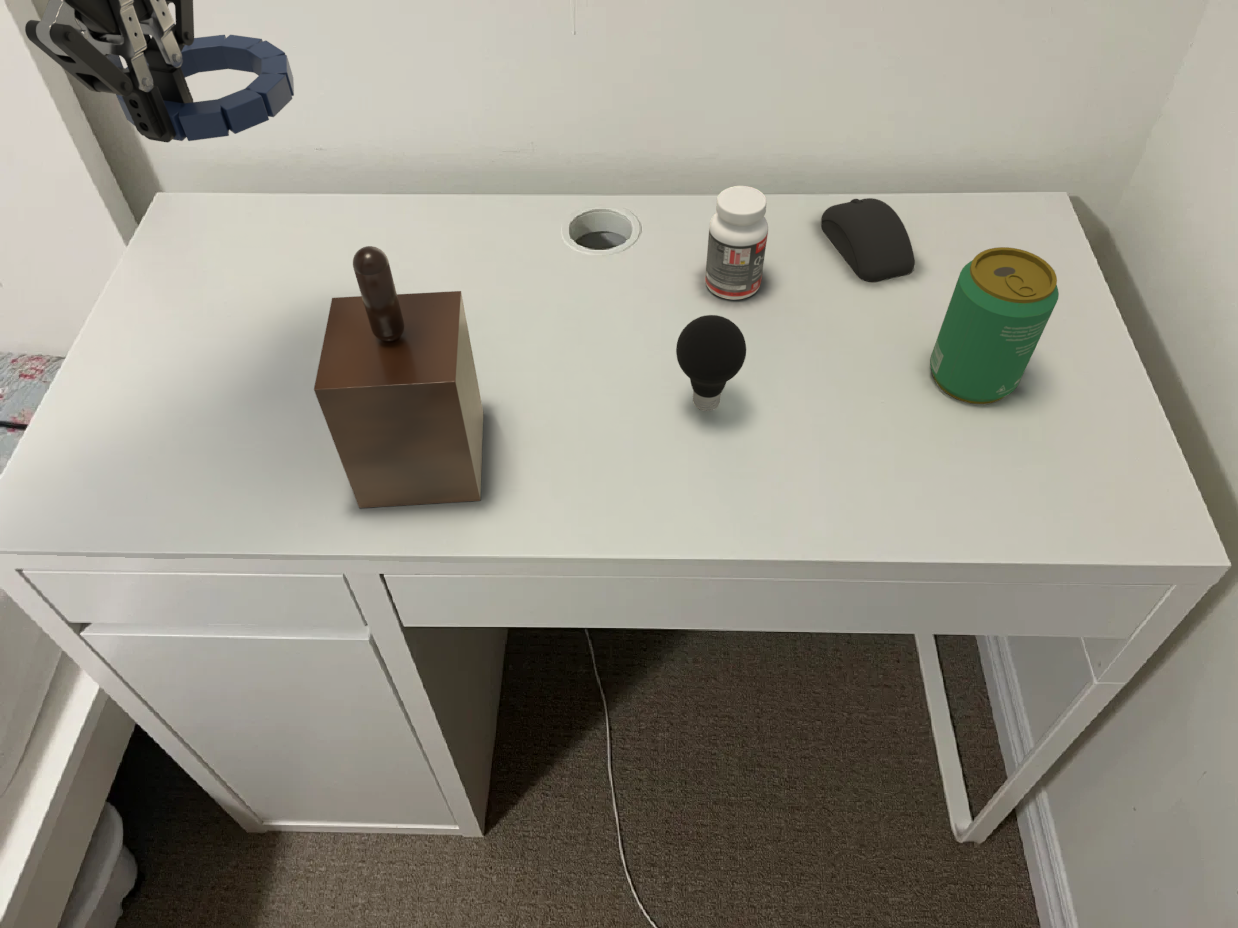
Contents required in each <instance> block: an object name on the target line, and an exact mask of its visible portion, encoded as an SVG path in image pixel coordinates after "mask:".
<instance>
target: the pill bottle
mask: <svg viewBox="0 0 1238 928" xmlns="http://www.w3.org/2000/svg"><path fill="white" fill-rule="evenodd" d="M767 202H768V201H767V197H766V196H765V194H764V193H763V192H762V191H760V190H759V189H757V188H755V187H751V186H747V185H735V186H730V187H727V188H724V189H723V190H722V191H721V192H719V194H718V195H717V198H716V205H715V211H716V212H715V213H714V214H713V215H712V217H711V218H710V221H709V226H708V239H707V251H706V263H705V275H704V277H705V278H704V281H705V284H706V287H707V288H708V290H709V291H710V292H711V293H712V294H714V295H715V296H717V297H720V298H722V299H726V300H742V299H746V298H749V297H751V296H753V295H755V293H756V292H757V291H758V290H759V289H760V287H761V284H762V279H763V271H764V264H765V257H766V256H765V255H766V250H767V241H768V236H769V224H768V223H769V222H768V220H767V218H766V213H767V204H768V203H767Z"/></svg>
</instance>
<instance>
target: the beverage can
mask: <svg viewBox="0 0 1238 928" xmlns="http://www.w3.org/2000/svg"><path fill="white" fill-rule="evenodd" d="M1057 283H1058V278H1057V273H1056V271H1055V269H1054V268H1053V267H1052V265H1050V264H1049V262H1047V261H1046V260H1045V259H1044V258H1041V257H1040V256H1038V255H1037V254H1034V253H1032V252H1030V251H1027V250H1024V249H1021V248H1015V247H1008V246H1007V247H1006V246H1005V247H1004V246H998V247H992V248H987V249H985V250H983V251H980V252H979V253H977V254H976V255H975V256H974V257H973V259H972V260H970V261H969V262H968V263H966V264H965V265H964V266H963V267H962V269H961V270H960V272H959V275H958V278H957V281H956V284H955V287H954V290H953V292H952V295H951V297H950V301H949V303H948V306H947V309H946V312H945V315H944V318H943V321H942V323H941V326H940V329H939V332H938V335H937V338H936V341H935V344H934V347H933V349H932V352H931V354H930V359H929V366H930V369H931V370H930V371H931V374H932V378H933V380H934V382H935V383H936V385H937V386H938V387H939V388H940V389H941V390H942V391H943V392H944V393H945V394H946V395H948V396H950V397H951V398H954V399H956V400H957V401H961V402H965V403H967V404H975V405H988V404H994V403H996V402H999V401H1001V400H1002V399H1004V398H1005V397H1007V396H1008V395H1010V394H1011V393H1013V392H1014V391H1015V390H1016V389H1017V387H1018V386H1019V384H1020V382H1021V379H1022V378H1023V375H1024V373H1025V371H1026V370H1027V366H1028V365H1029V362H1030V360H1031V359H1032V356H1033V354H1034V352H1035V350H1036V348H1037V345H1038V343H1039V341H1040V339H1041V337H1042V335H1043V333H1044V331H1045V328H1046V327H1047V324H1048V322H1049V320H1050V318H1051V316H1052V314H1053V312H1054V310H1055V307H1056V305H1057V303H1058V301H1059V295H1060V294H1059V288H1058V284H1057Z"/></svg>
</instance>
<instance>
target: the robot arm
mask: <svg viewBox="0 0 1238 928" xmlns="http://www.w3.org/2000/svg"><path fill="white" fill-rule="evenodd" d="M170 4H173V5H174V15H175V20H174V18H173V16H172V13H171V11H170V9H169V5H170ZM194 14H195V13H194V0H48V2H47V4H46V7H45V10H44V12H43V15H42V18H41V20H37V19H30V20H28V21H27V22H26V23H25V26H24V32H25V35H26V37H27V39H28V40H29V41H30V42H31V43H32V44H34V45H35V46H36V47H37V48H39V49H40V50H41V52H43V53H45V54H46V55H47V56H48V57H50V58H51V59H52V60H53V61H54V62H55V63H56V64H58V65H59V66H60V67H61V68H63V70H65V71H66V72H67V73H68V74H70V75H71V76H72V77H73V78H75V79H76V80H77V81H78V82H79V83H81V84H82V85H83V86H84V87H85V88H86V89H88V90H89V91H91V92H94V93H106V94H113V95H116V94H117V95H120V96H122V98H123V100H124V102H125V104H126V107H127V109H128V111H129V113H130V115H131V118H132V120H133V121H134V125H135V126H134V125H133V126H134V127H135V129H136V131H137V132H138V133H139V134H140V135H141V136H144V137H145V138H146V139H147V140H149V141H156V142H161V143H170V142H171V141H172V139H173V138H174V137H175V136H176V132H175V129H174V127H173V124H172V122H171V119H170V116H169V114H168V111H167V109H166V106H165V104H164V101H163V100H165V101H171V102H177V103H191V102H194V98H193V95H192V92H190V91H191V90H190V88H189V86H188V85H189V84H188V82H187V80H186V77H184V74H183V72H182V69H181V67H180V66H181V65H182V62H183V57H182V53H181V51H182V50H183V48H184V46H185V45H187V46H190V45H192V44H193V42H194V38H195V21H194V20H195V19H194V17H195V16H194ZM121 58H122V59H124V61H125V64H126V66H127V67H128V69H126V68H127V67H124V65H123V62H122V60H121ZM147 63H148V64H149V65H147Z"/></svg>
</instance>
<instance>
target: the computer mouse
mask: <svg viewBox="0 0 1238 928" xmlns="http://www.w3.org/2000/svg"><path fill="white" fill-rule="evenodd" d="M820 220H821V221H820V223H821V224H820V225H821V231H822V232H823V233H824V235H826V237H827V238H828V239H829V242H831V243H832V245H833V246H834V247H835V249H836V250H837V252H839V254H840V255H841V256H842V257H843V259H844V261H846V263H847V264H848V266H849V267H850V268H851V269H852V270H853V272H854V273H855V274H856V276H857V277H858V278H859V279H861V280H862V281H864V282H865V281H866V282H868V283H876V282H880V281H884V280H889V279H895V278H897V277H902V276H907V275H909V274H912V273H913V271H914V268H915V265H916V263H915V262H916V260H915V254H914V249H913V246H912V242H911V239H910V235H909V233H908V231H907V228H906V226H905V224H904V222H903V221H902V219H901V218H900V216H899V214H898V213H897V212H896V211H895V210H894V209H893V208H892V207H891V206H890V205H889V204H887V203H886V202H885V201H882V200H880V199H879V198H878V199H877V198H874V197H869V198H862V199H859V198H853V199H851V200H850V201H848V202H847V201H846V202H842V203H838V204H833V205H831V206H829V207H827V208H826V209H825V210H824V211H823V213H822V215H821V219H820Z"/></svg>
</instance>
